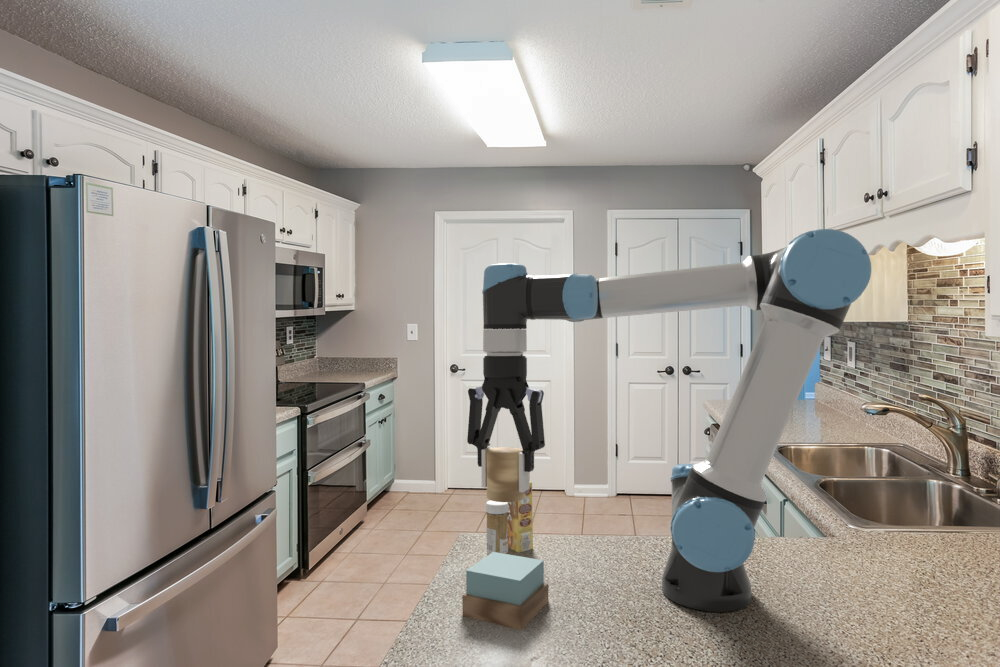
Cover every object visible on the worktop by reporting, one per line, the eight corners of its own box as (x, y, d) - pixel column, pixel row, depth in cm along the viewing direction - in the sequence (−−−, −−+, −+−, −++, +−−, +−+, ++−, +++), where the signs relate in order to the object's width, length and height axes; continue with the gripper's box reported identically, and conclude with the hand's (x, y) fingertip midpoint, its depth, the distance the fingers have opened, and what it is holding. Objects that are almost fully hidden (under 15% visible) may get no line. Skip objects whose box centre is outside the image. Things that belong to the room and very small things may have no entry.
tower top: (543, 583, 109) (543, 560, 109) (520, 605, 100) (520, 580, 100) (493, 573, 113) (493, 551, 113) (466, 594, 104) (466, 570, 104)
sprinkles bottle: (510, 571, 123) (510, 504, 123) (488, 573, 122) (488, 505, 122) (505, 563, 128) (505, 498, 128) (484, 564, 127) (483, 499, 127)
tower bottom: (548, 606, 108) (548, 583, 108) (521, 633, 99) (521, 608, 99) (493, 594, 113) (493, 572, 113) (462, 618, 104) (462, 594, 104)
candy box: (533, 552, 134) (533, 481, 134) (518, 556, 132) (517, 484, 132) (511, 540, 141) (510, 474, 141) (495, 544, 139) (495, 476, 139)
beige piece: (530, 494, 108) (530, 449, 108) (514, 504, 102) (513, 455, 102) (497, 490, 111) (497, 446, 111) (479, 499, 105) (479, 452, 105)
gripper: (565, 354, 105) (566, 489, 105) (467, 353, 114) (467, 477, 114) (548, 355, 98) (548, 500, 98) (445, 354, 107) (446, 486, 107)
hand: (505, 487), depth 106 cm, fingers closed on beige piece, 6 cm apart
